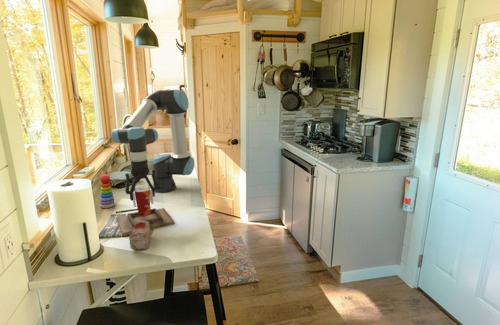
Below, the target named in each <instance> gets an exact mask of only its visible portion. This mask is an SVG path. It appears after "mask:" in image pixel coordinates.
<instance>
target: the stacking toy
mask: <svg viewBox="0 0 500 325" xmlns="http://www.w3.org/2000/svg"><path fill="white" fill-rule="evenodd" d="M110 180H111V177H110V175H109V174H102V175H101V176H100V178H99V181H100V182H101V183H100V199H99V200H100V201H99V207H100V208H101V209H109V208H113V207H114V206H115V205H116V201H115V199H114V197H115V196H114V193H113V189H112V186H111V182H110Z"/></svg>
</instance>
